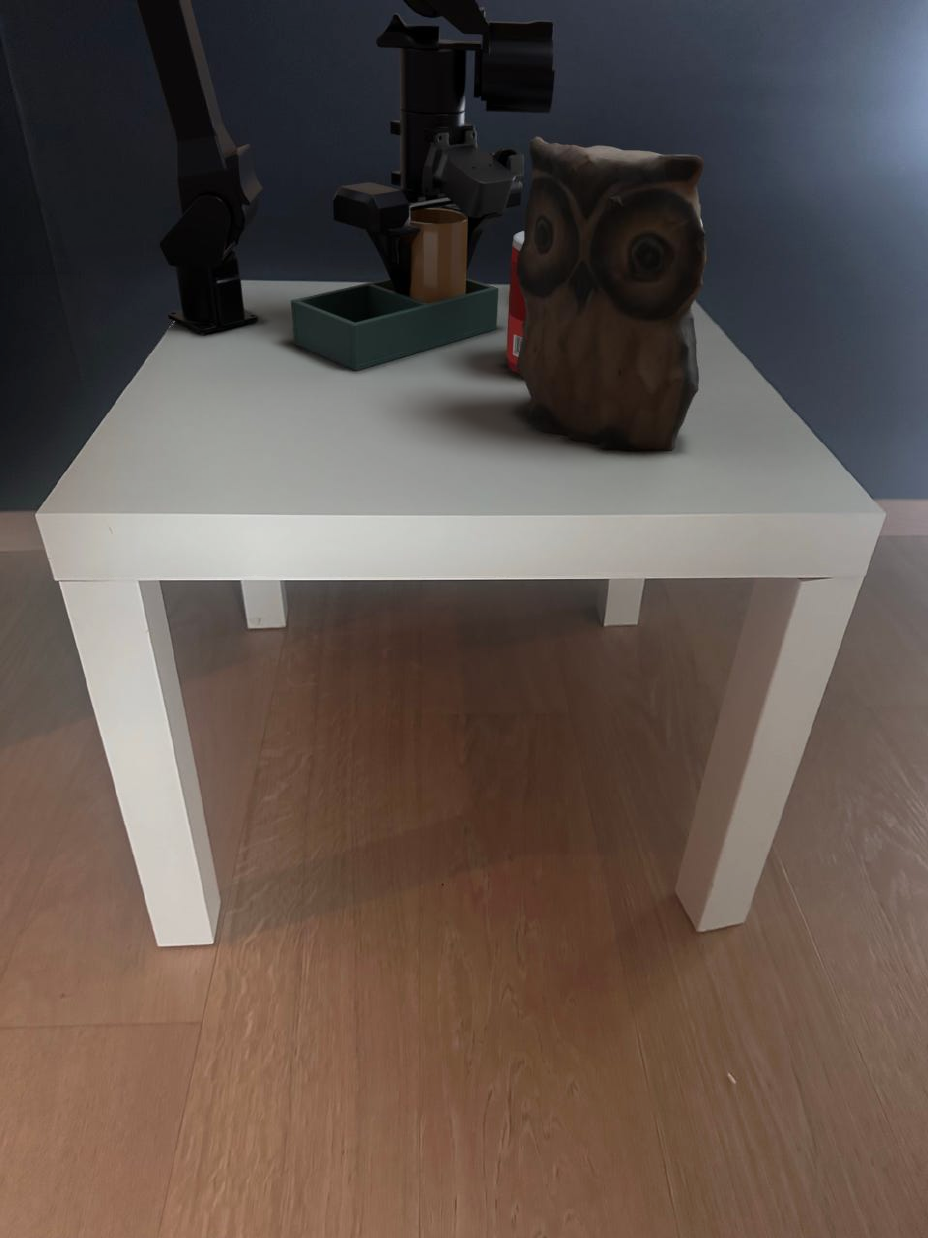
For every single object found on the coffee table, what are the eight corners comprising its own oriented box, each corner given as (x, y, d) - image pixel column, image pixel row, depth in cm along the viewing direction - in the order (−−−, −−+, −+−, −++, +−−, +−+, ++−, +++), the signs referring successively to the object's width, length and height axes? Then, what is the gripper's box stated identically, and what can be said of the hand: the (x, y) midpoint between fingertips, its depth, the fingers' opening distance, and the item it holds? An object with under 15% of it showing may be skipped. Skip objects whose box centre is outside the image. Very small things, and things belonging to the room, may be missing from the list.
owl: (691, 457, 68) (747, 160, 57) (523, 459, 67) (545, 157, 56) (648, 392, 79) (688, 129, 67) (502, 393, 77) (516, 126, 66)
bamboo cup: (383, 312, 90) (381, 214, 85) (433, 299, 94) (434, 204, 89) (429, 329, 86) (430, 227, 81) (478, 315, 90) (482, 217, 85)
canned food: (598, 384, 80) (614, 251, 73) (506, 381, 80) (514, 248, 73) (589, 353, 86) (603, 228, 80) (504, 350, 86) (511, 225, 80)
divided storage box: (293, 343, 86) (290, 300, 84) (433, 306, 96) (433, 267, 94) (355, 370, 81) (354, 325, 78) (496, 329, 91) (498, 287, 89)
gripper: (414, 130, 70) (414, 334, 79) (572, 113, 81) (556, 294, 90) (324, 112, 76) (334, 303, 85) (482, 99, 87) (476, 269, 96)
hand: (430, 292), depth 89 cm, fingers closed on bamboo cup, 6 cm apart
